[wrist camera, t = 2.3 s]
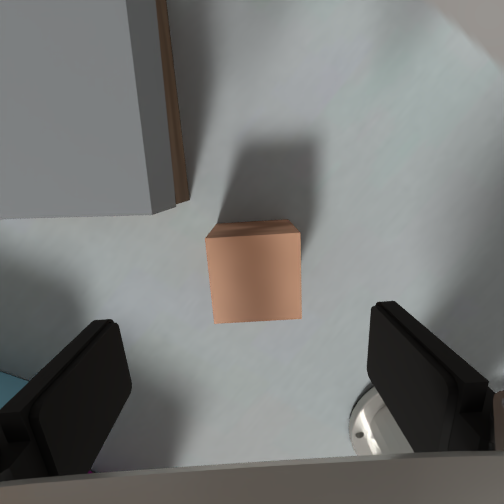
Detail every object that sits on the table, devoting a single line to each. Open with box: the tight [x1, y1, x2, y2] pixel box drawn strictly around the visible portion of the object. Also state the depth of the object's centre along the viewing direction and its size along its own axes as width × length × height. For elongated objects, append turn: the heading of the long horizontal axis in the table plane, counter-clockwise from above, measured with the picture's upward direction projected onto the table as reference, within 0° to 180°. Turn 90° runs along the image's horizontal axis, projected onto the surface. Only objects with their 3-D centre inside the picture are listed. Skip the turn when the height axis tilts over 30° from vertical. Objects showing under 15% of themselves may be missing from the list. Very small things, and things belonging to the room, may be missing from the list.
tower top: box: [0, 0, 176, 219], centre depth 14 cm, size 14×14×4 cm
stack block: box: [205, 219, 302, 324], centre depth 20 cm, size 6×6×6 cm
